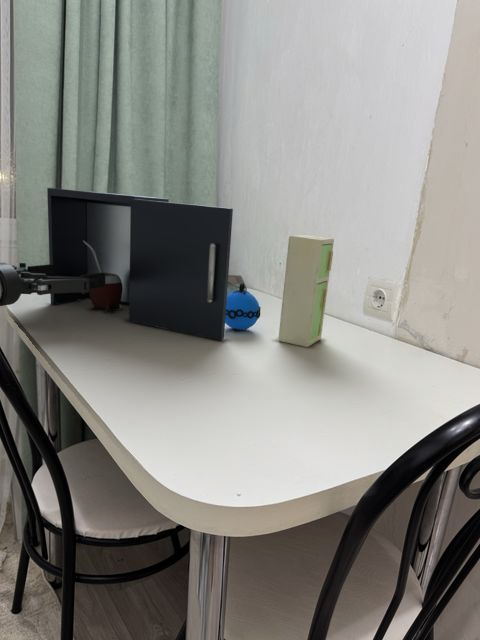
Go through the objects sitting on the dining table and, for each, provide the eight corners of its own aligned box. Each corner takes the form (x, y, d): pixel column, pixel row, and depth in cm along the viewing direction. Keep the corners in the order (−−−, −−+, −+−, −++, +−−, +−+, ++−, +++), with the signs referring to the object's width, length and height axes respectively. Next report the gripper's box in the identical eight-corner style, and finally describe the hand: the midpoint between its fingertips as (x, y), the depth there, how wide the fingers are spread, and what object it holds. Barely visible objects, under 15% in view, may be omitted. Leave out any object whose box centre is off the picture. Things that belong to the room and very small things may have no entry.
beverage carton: (214, 309, 125) (216, 283, 124) (212, 295, 144) (214, 272, 142) (246, 311, 127) (248, 285, 125) (240, 297, 145) (242, 274, 143)
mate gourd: (125, 312, 114) (125, 245, 110) (88, 313, 111) (88, 243, 106) (117, 305, 120) (118, 241, 116) (83, 306, 117) (82, 240, 113)
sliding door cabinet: (40, 305, 113) (36, 187, 106) (87, 297, 126) (86, 191, 119) (217, 343, 97) (226, 205, 90) (249, 328, 110) (260, 207, 103)
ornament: (228, 322, 113) (231, 278, 111) (264, 328, 111) (268, 283, 108) (211, 330, 106) (214, 283, 103) (250, 337, 103) (254, 288, 100)
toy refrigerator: (311, 348, 99) (324, 239, 93) (277, 341, 102) (288, 235, 96) (324, 340, 106) (337, 238, 100) (292, 333, 109) (303, 234, 103)
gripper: (41, 273, 81) (126, 264, 100) (-62, 255, 91) (33, 249, 110) (43, 319, 84) (126, 301, 102) (-59, 296, 93) (34, 284, 112)
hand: (78, 274), depth 106 cm, fingers open, 13 cm apart
